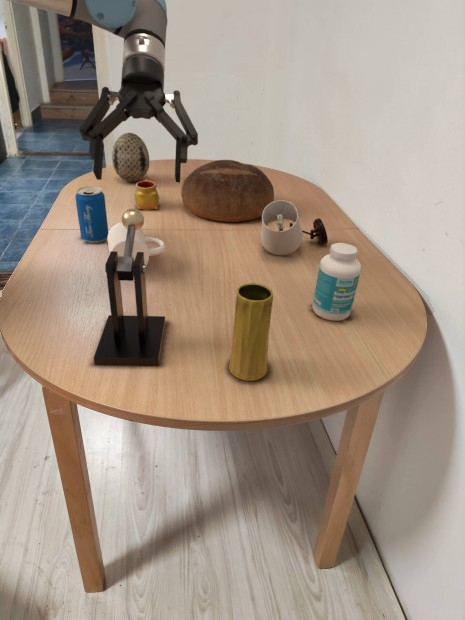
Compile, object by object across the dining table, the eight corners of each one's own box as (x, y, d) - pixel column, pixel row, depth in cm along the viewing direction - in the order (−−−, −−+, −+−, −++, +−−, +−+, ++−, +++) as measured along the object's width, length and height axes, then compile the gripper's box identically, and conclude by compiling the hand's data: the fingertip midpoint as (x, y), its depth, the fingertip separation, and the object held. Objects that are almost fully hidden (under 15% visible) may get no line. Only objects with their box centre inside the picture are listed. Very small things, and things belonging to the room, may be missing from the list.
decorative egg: (106, 180, 148) (101, 132, 140) (134, 173, 156) (131, 127, 148) (129, 189, 142) (126, 139, 134) (157, 181, 150) (155, 134, 142)
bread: (183, 191, 143) (183, 148, 136) (267, 194, 144) (271, 152, 137) (178, 222, 121) (177, 173, 114) (277, 226, 123) (283, 177, 115)
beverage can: (77, 243, 107) (70, 194, 101) (86, 232, 113) (79, 185, 106) (104, 245, 107) (99, 195, 101) (112, 234, 113) (107, 186, 106)
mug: (111, 276, 95) (108, 241, 91) (109, 255, 103) (105, 222, 99) (168, 271, 98) (167, 237, 94) (161, 251, 106) (160, 219, 102)
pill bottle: (331, 327, 83) (345, 261, 76) (303, 308, 88) (314, 244, 81) (358, 315, 87) (374, 251, 80) (330, 297, 92) (342, 236, 85)
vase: (256, 386, 69) (265, 307, 61) (221, 372, 71) (225, 294, 63) (273, 364, 73) (283, 288, 66) (240, 352, 76) (245, 277, 68)
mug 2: (158, 211, 128) (157, 187, 124) (133, 210, 127) (132, 187, 123) (160, 196, 138) (160, 174, 134) (137, 196, 137) (136, 174, 133)
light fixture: (258, 240, 118) (251, 204, 102) (315, 220, 117) (317, 181, 101) (270, 273, 114) (265, 242, 98) (329, 253, 114) (334, 218, 98)
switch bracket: (109, 321, 81) (99, 240, 73) (165, 322, 82) (162, 242, 73) (94, 364, 71) (81, 276, 63) (158, 365, 72) (154, 278, 63)
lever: (124, 219, 77) (121, 203, 74) (146, 219, 77) (143, 204, 74) (114, 282, 70) (110, 268, 66) (138, 283, 70) (135, 269, 67)
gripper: (67, 50, 78) (56, 162, 73) (212, 57, 79) (210, 168, 75) (79, 80, 85) (69, 185, 81) (212, 87, 86) (210, 189, 82)
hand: (137, 177), depth 78 cm, fingers open, 13 cm apart
